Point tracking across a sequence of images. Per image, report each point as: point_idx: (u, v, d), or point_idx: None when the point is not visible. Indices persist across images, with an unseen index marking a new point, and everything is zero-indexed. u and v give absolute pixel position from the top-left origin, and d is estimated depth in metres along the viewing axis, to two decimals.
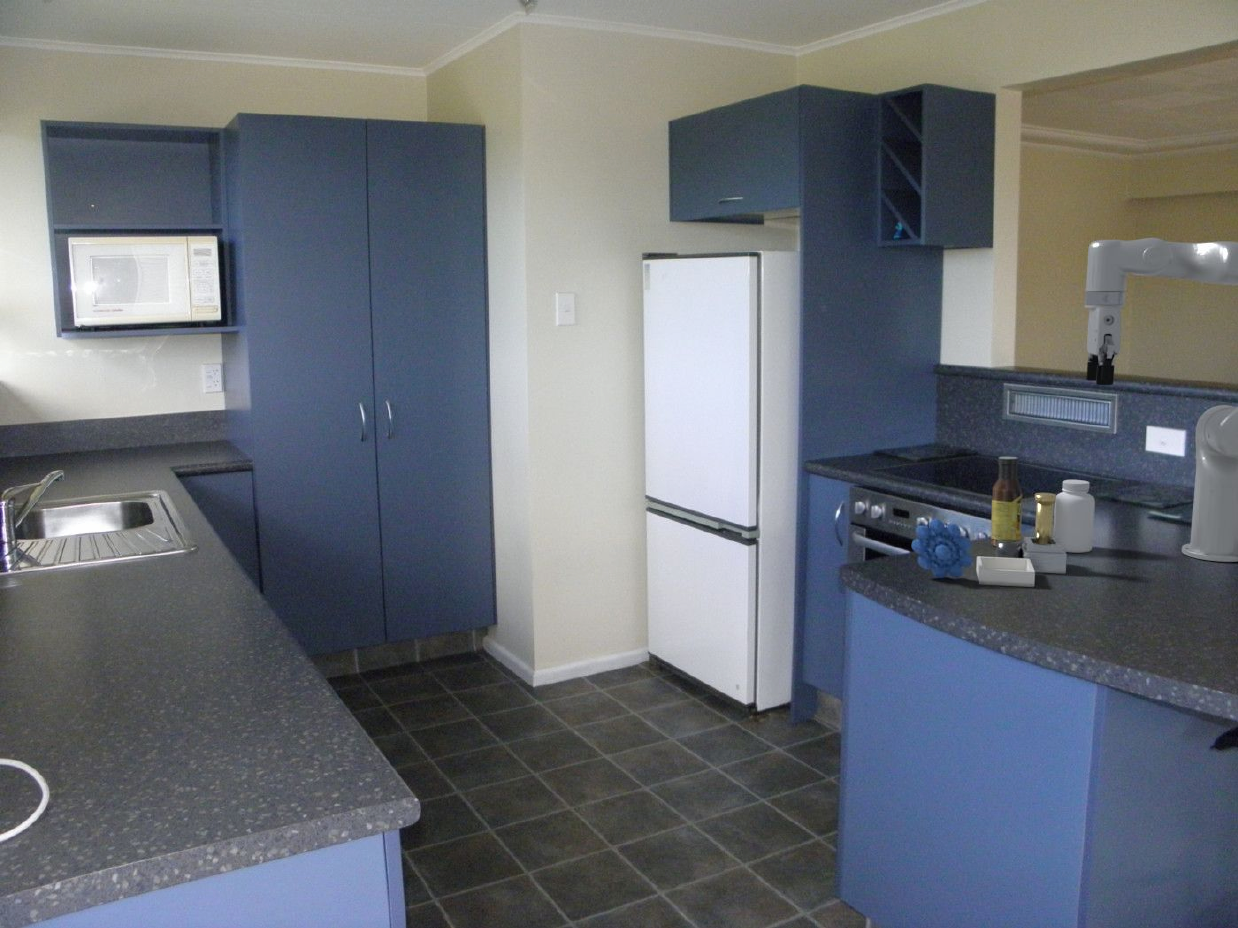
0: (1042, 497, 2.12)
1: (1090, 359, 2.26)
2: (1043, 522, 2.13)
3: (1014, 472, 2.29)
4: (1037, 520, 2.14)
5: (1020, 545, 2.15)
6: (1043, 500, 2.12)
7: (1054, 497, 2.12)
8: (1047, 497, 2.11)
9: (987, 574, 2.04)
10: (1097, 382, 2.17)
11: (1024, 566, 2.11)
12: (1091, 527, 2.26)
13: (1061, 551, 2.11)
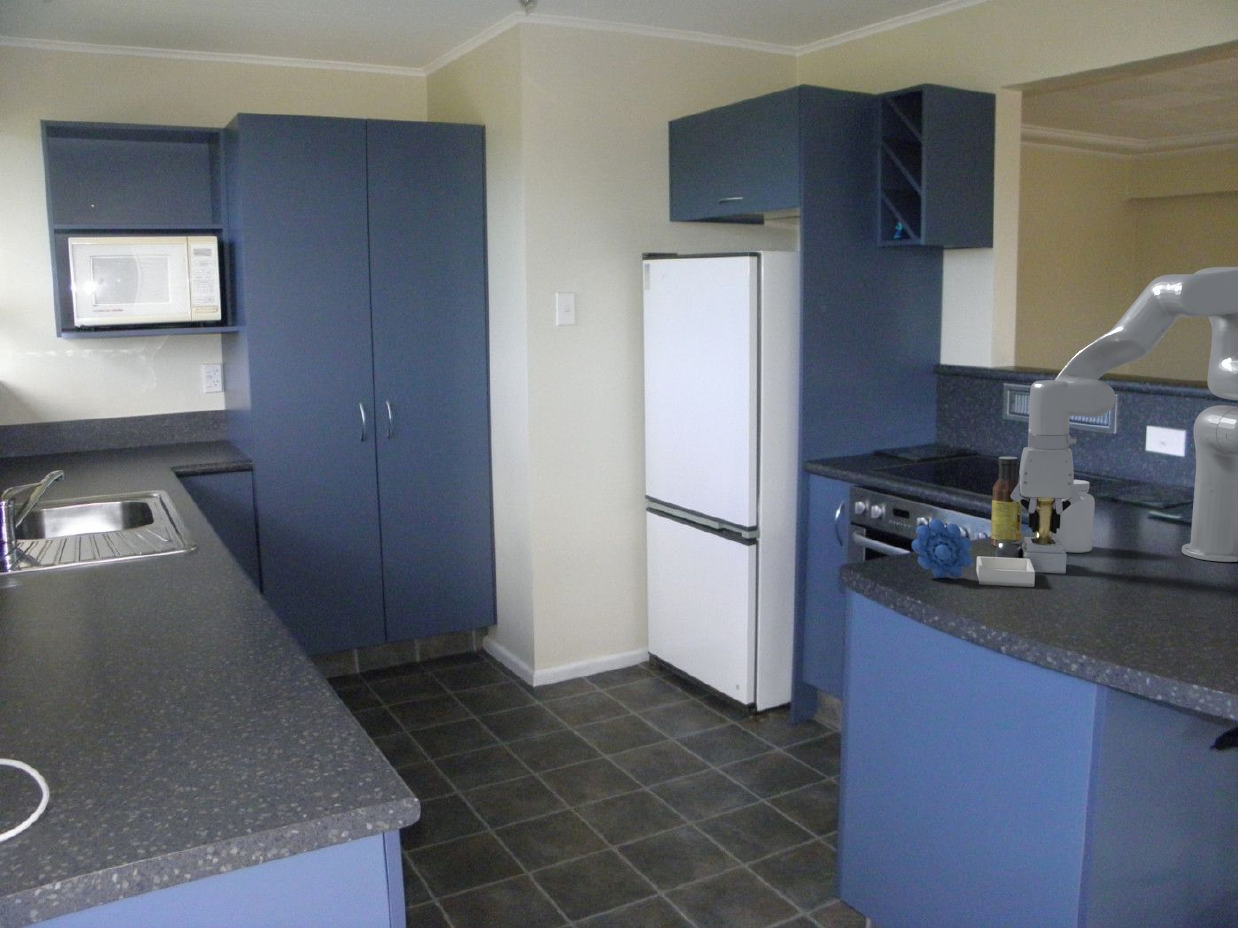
0: None
1: None
2: (1043, 522, 2.13)
3: (1014, 472, 2.29)
4: (1037, 520, 2.14)
5: (1020, 545, 2.15)
6: (1043, 500, 2.12)
7: None
8: None
9: (987, 574, 2.04)
10: None
11: (1024, 566, 2.11)
12: (1091, 527, 2.26)
13: (1061, 551, 2.11)
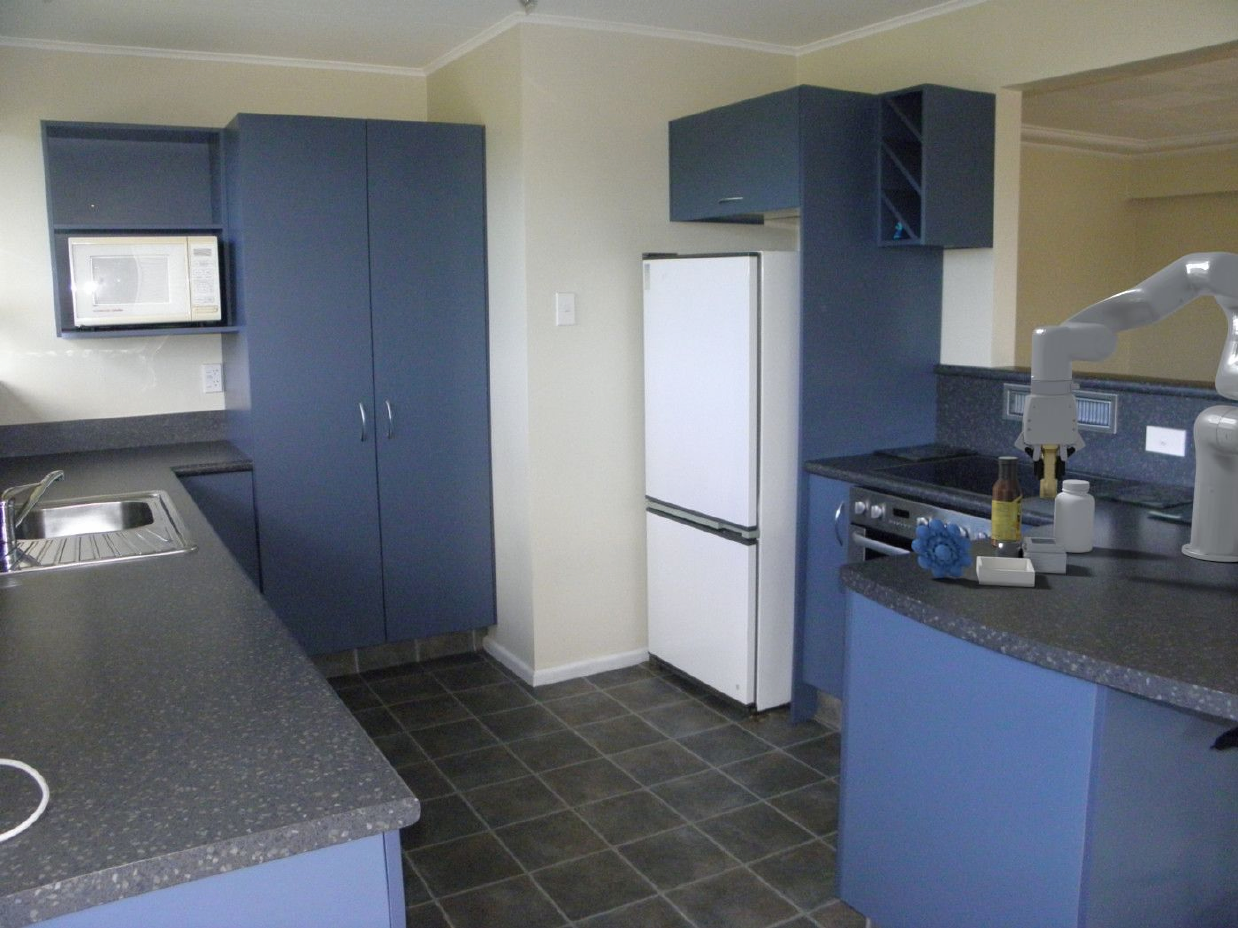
0: None
1: None
2: (1048, 469, 2.11)
3: (1014, 472, 2.29)
4: (1042, 467, 2.12)
5: (1020, 545, 2.15)
6: (1047, 447, 2.10)
7: None
8: (1051, 444, 2.10)
9: (987, 574, 2.04)
10: None
11: (1024, 566, 2.11)
12: (1091, 527, 2.26)
13: (1061, 551, 2.11)
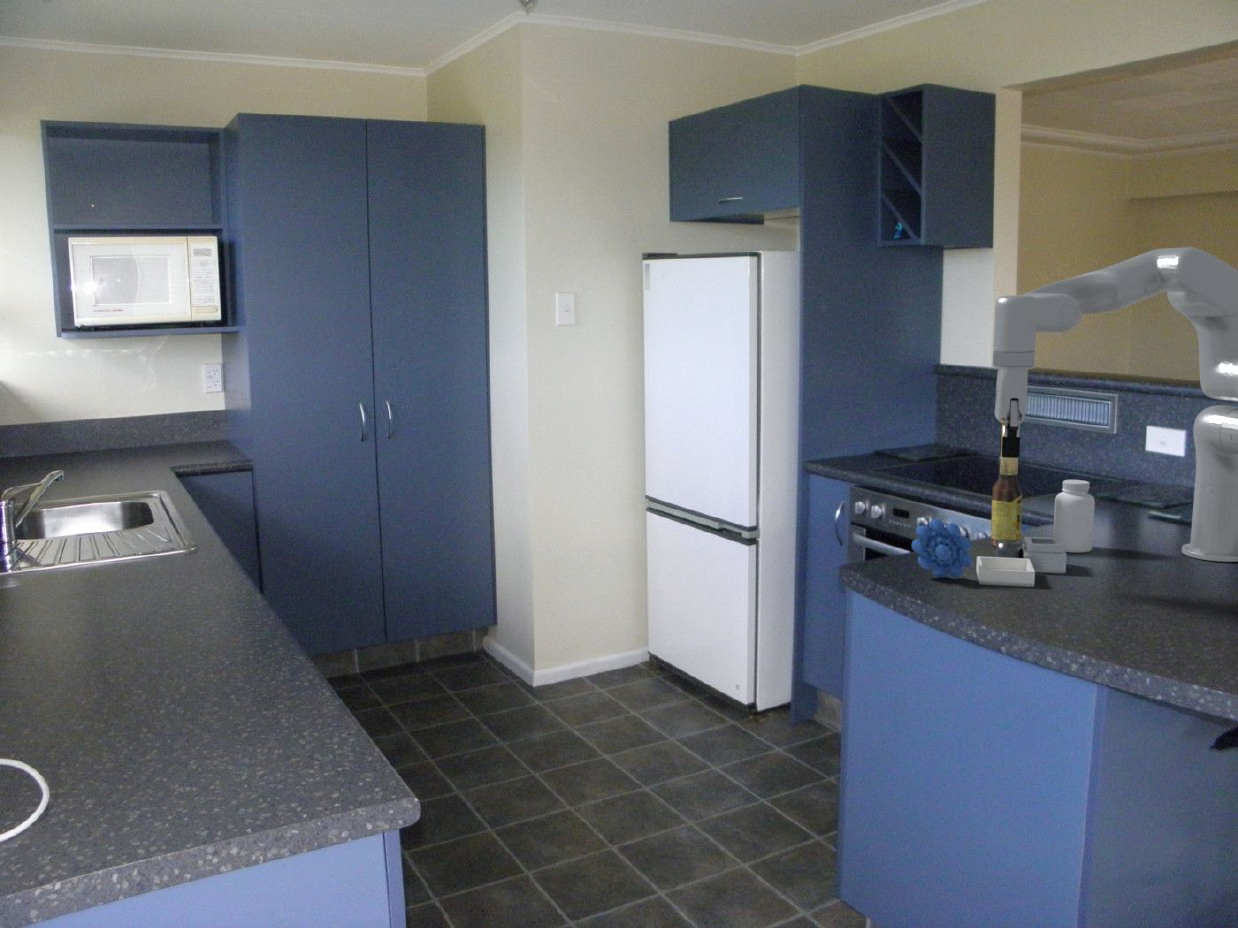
0: None
1: None
2: None
3: None
4: None
5: (1020, 545, 2.15)
6: (1021, 421, 2.02)
7: None
8: None
9: (987, 574, 2.04)
10: None
11: (1024, 566, 2.11)
12: (1091, 527, 2.26)
13: (1061, 551, 2.11)
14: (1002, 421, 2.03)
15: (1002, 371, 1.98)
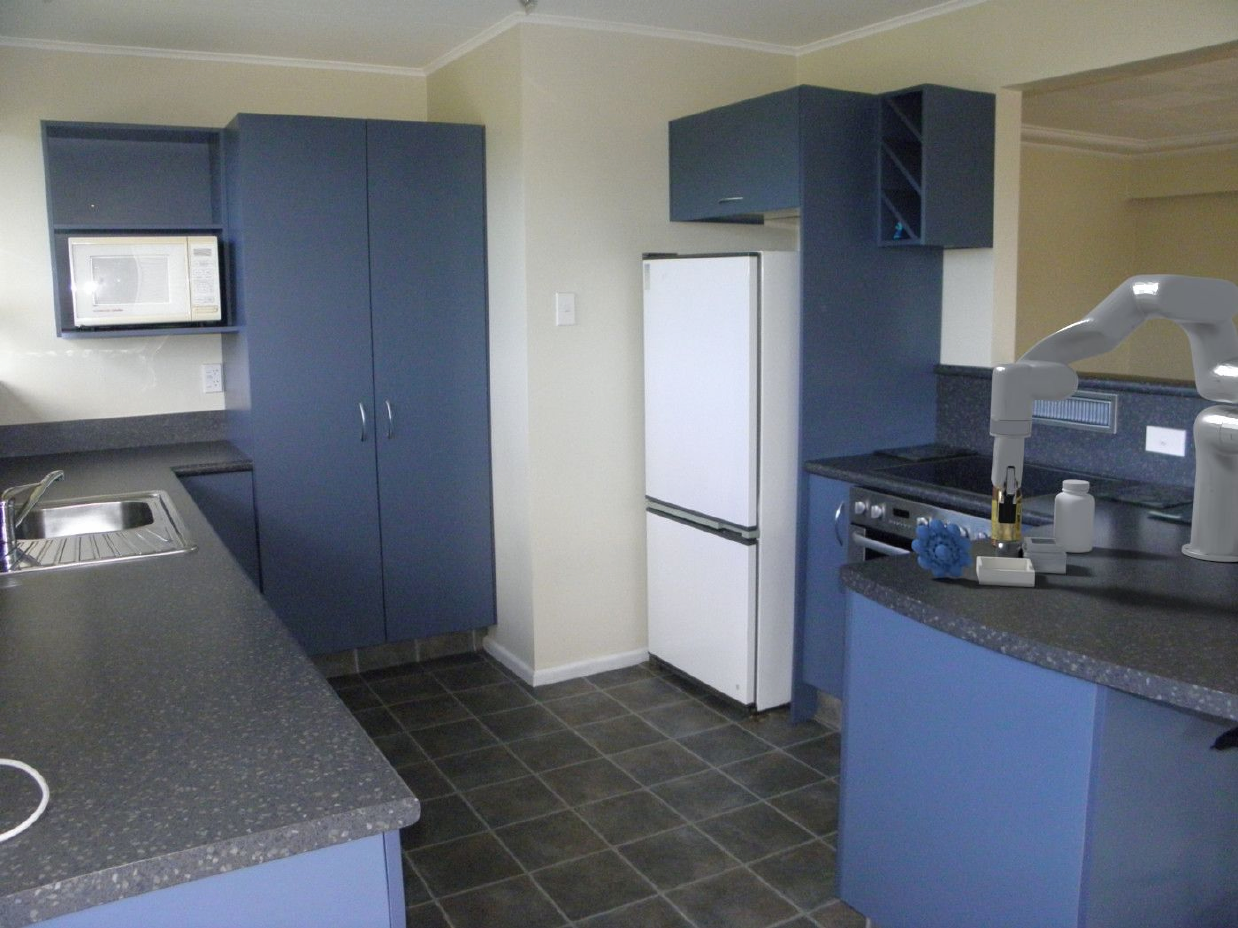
0: None
1: None
2: None
3: None
4: None
5: (1020, 545, 2.15)
6: None
7: None
8: None
9: (987, 574, 2.04)
10: None
11: (1024, 566, 2.11)
12: (1091, 527, 2.26)
13: (1061, 551, 2.11)
14: (999, 487, 2.05)
15: (999, 439, 2.01)
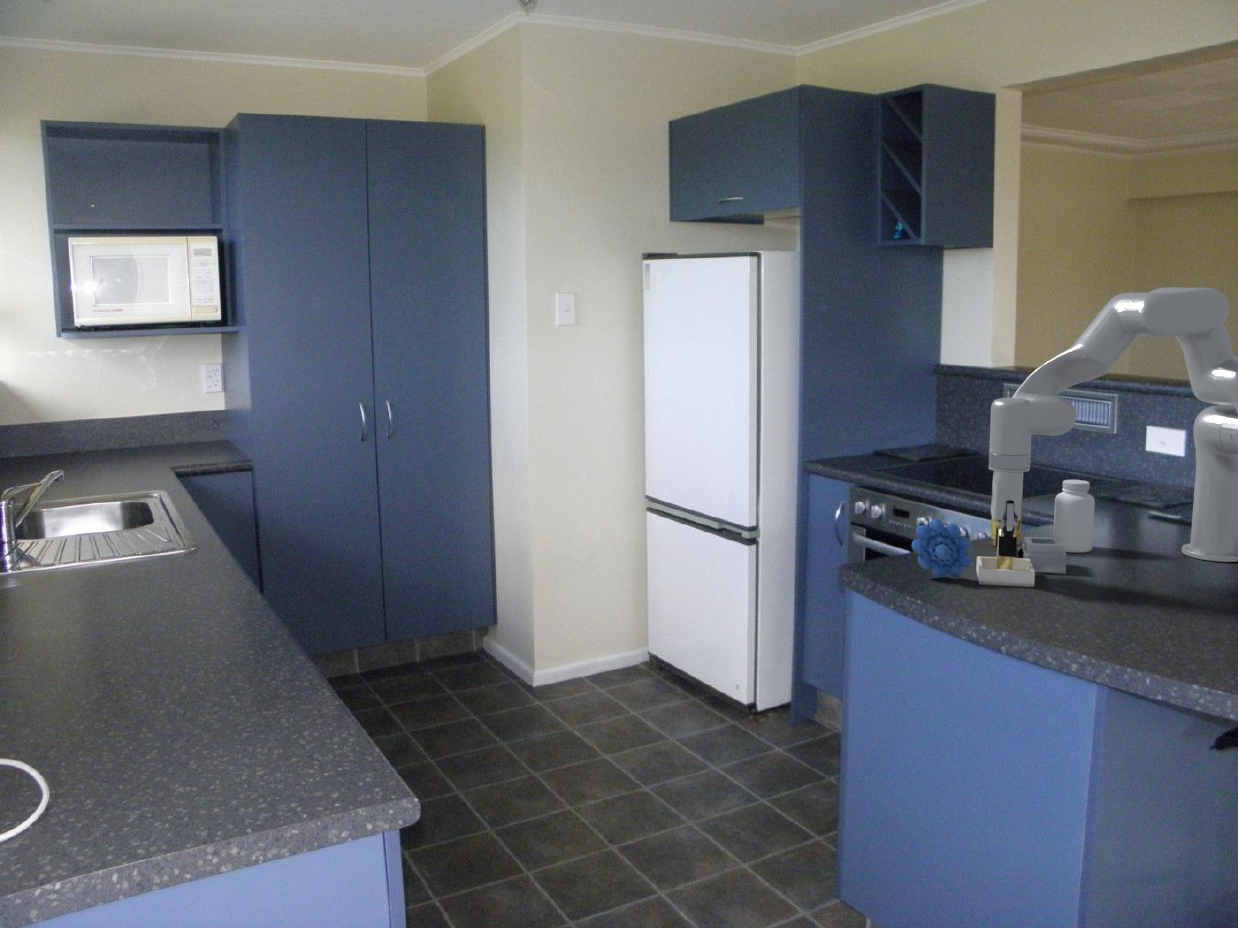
0: (1017, 522, 2.05)
1: None
2: None
3: None
4: None
5: (1020, 545, 2.15)
6: (1017, 525, 2.06)
7: None
8: None
9: (987, 574, 2.04)
10: None
11: (1024, 566, 2.11)
12: (1091, 527, 2.26)
13: (1061, 551, 2.11)
14: (998, 525, 2.06)
15: (998, 473, 2.02)
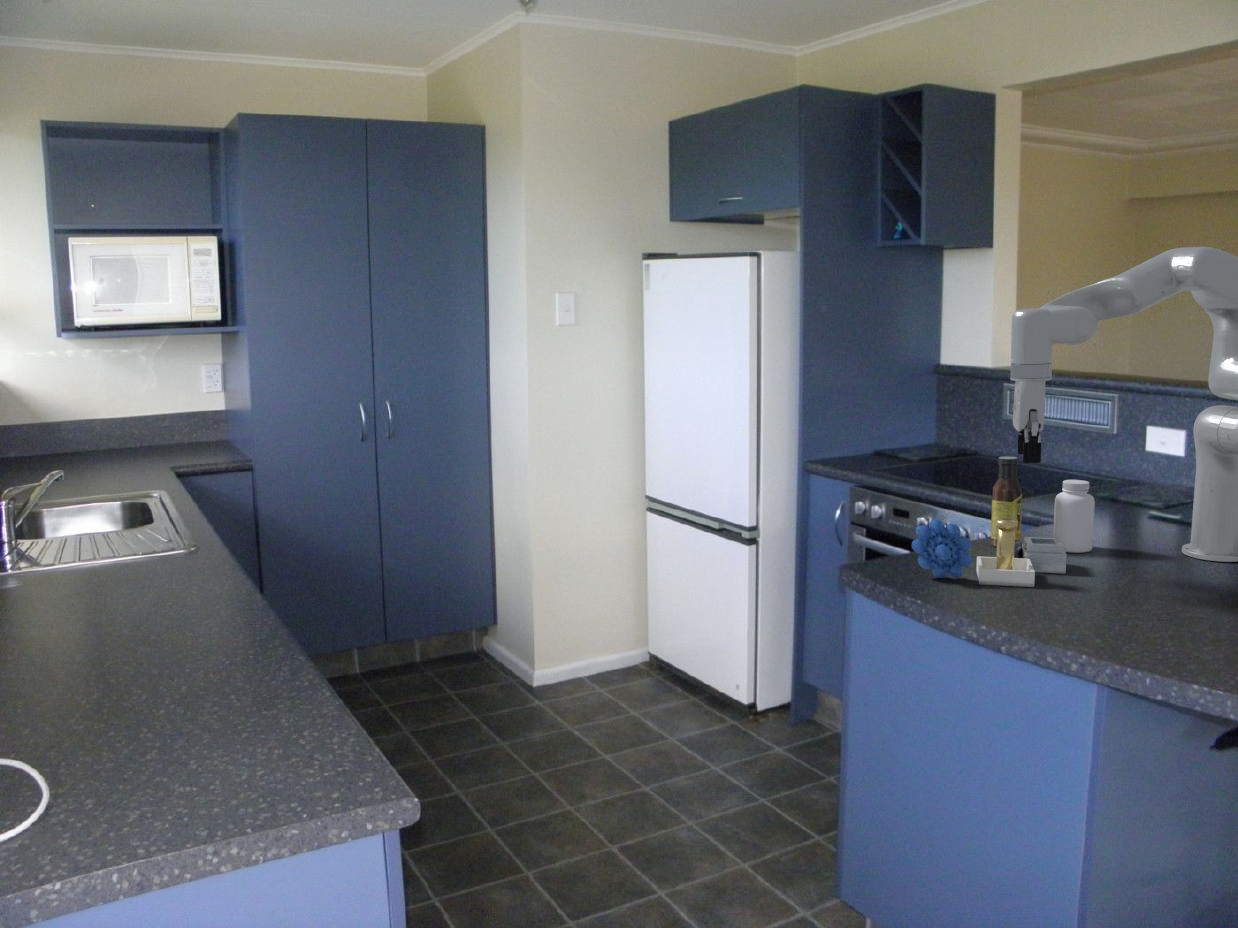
0: (1017, 522, 2.05)
1: None
2: (1014, 547, 2.07)
3: (1014, 472, 2.29)
4: (1010, 547, 2.06)
5: (1020, 545, 2.15)
6: (1017, 525, 2.05)
7: None
8: None
9: (987, 574, 2.04)
10: None
11: (1024, 566, 2.11)
12: (1091, 527, 2.26)
13: (1061, 551, 2.11)
14: (998, 525, 2.06)
15: (1020, 383, 2.04)
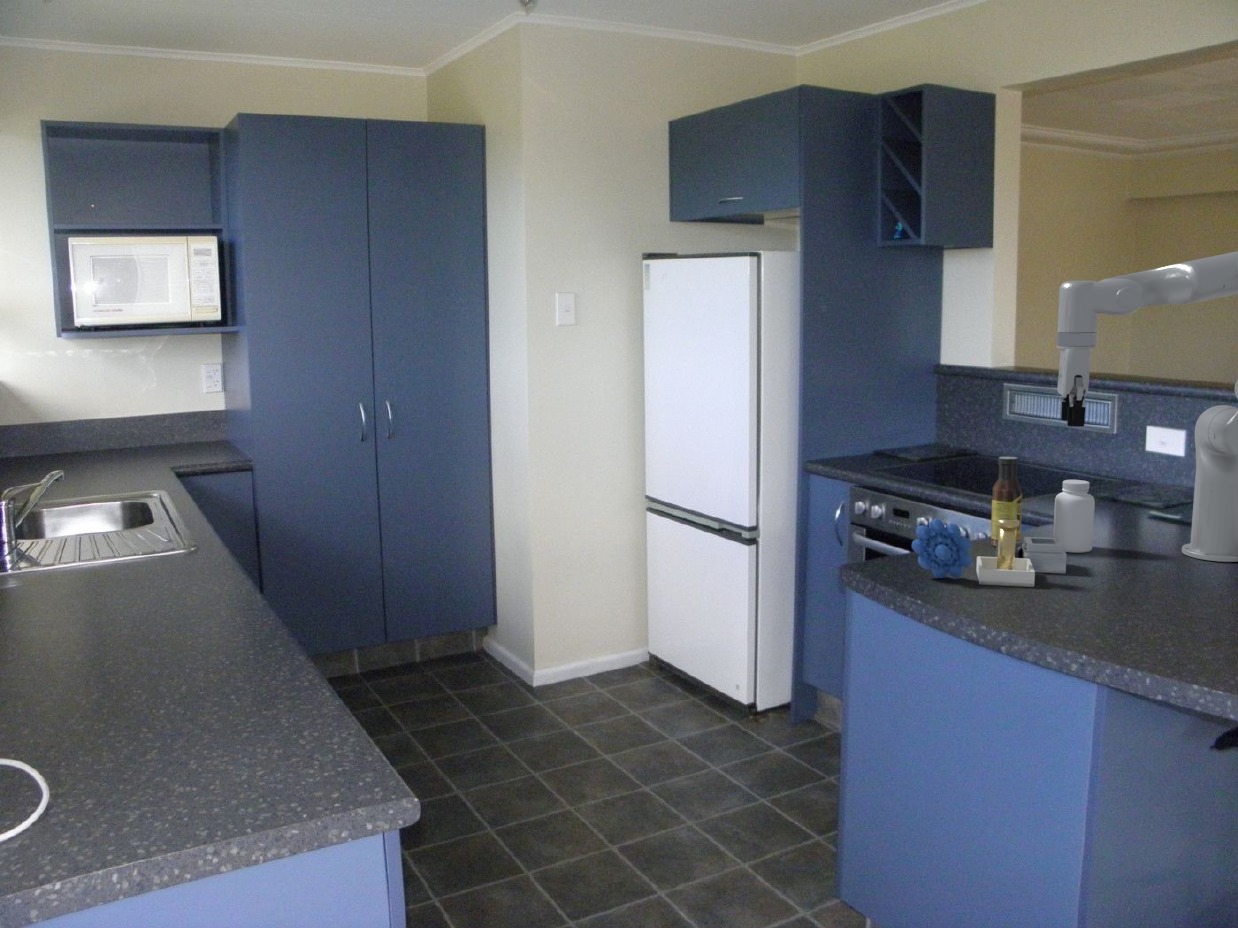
0: None
1: None
2: None
3: (1014, 472, 2.29)
4: (1011, 547, 2.06)
5: (1020, 545, 2.15)
6: None
7: None
8: (1018, 521, 2.06)
9: (987, 574, 2.04)
10: None
11: (1024, 566, 2.11)
12: (1091, 527, 2.26)
13: (1061, 551, 2.11)
14: (1000, 525, 2.06)
15: (1067, 350, 2.15)
